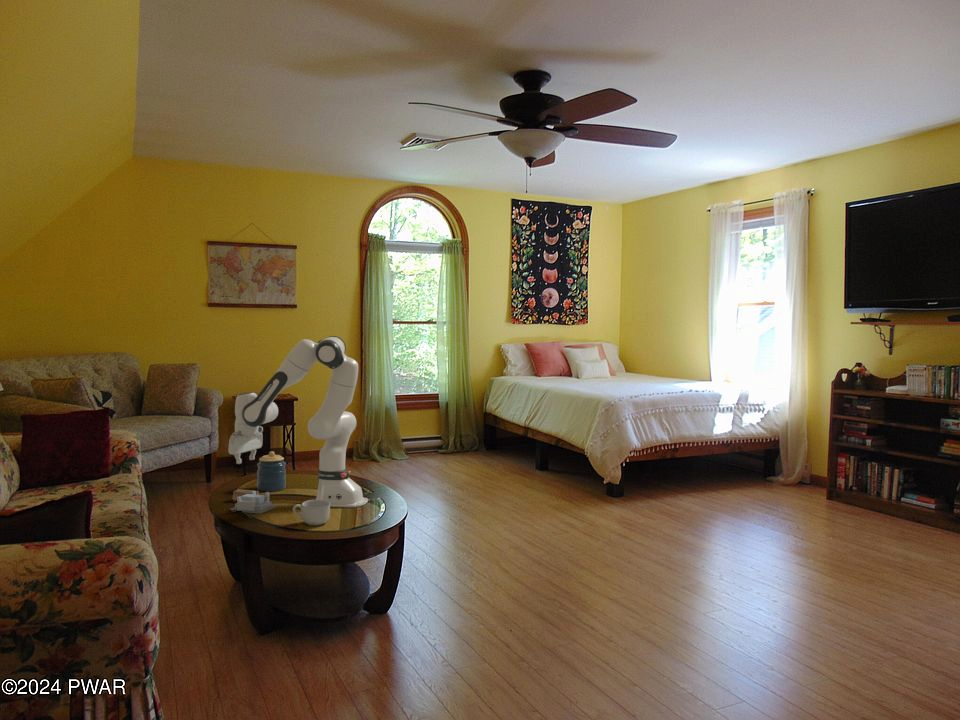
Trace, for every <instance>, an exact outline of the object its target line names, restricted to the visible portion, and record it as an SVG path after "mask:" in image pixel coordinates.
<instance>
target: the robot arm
mask: <svg viewBox="0 0 960 720" xmlns="http://www.w3.org/2000/svg"><path fill="white" fill-rule="evenodd" d="M346 346H347V345H346V342H345V341H344V340H343V339H342V338H341V337H339V336H336V335H330V336H327V337H325V338H323V339H321V340H319V341H318V342H314V341H313V340H311V339H307V338H303V339H301V340H299V341H298V342H297V343H296V344H295V345H294V346H293V348H292V349H291V350H290V352H288V354H287V355H286V356H285V358H284V360H283V361H282V363H281V364H280V366H279V367H278V369H277V370H276V371H275V373H274V374H273V375H272V377H270V379H269V381H267V383H266V384H265V385H264V386H263V388H262V389H261V391H260V392H259V393H255V392H254V391H250V392H243V393H239V394H238V395H237V396H236V398H235V404H234V415H235V421H234V432H232V434H231V435H230V437H229V440H228V441H229V442H228V449H227V451H228V455H233V457H234V458H235V460H236V465H241V464H243V462H242V461H243V459H242V458H241V455H242V454H243V453H247V452H250V455H249V456H248V458H249V461H254V460H255V459H256V458H255V456H256V454H257V449H261V448H262V447H263V440H264V439H263V437H264V436H263V432H264V428H263V426H261V425H264V424H267V423H270V422H273V421H274V420H276V419H277V418H278V417H279V411H280V410H279V407H278V405H277V403H276V402H274V400H275V399H277V397H278V395H280V394H281V392H282V391H284V390H286V388H288V387H290V386H294V385H295V384H298V383H300V382H301V381H302V380H303V379H304V377H305V378H306V376H307V375H308V373H309V371H310V370H311V368H312V367H313V366H314V365H315V364H316V362H319V363H320V364H322V365H324V366H326V367H327V368H329V369H331V376H330V379H329V384H328V388H327V391H326V395H325V397H324V399H323V402H322V404H321V406H320V407H319V409H318V410H317V411H316V413H315V415H313V416H312V417H311V418H310V419H309V421H308V422H307V432H308V434H309V435H310V436H311V437H312V438H314V439H316V440H325V441H324V444H323V446H322V447H321V449H320V451H319V456H318V457H319V459H318V460H319V462H318V463H319V464H318V465H319V469H318V473H317V479H318V488H317V494H316V496H315V497H316V498H315V500H326V501H329V502H330V503H331V504H330V508H331V507H332V508H358V507H361V506H364V505H365V504H367V503H368V501H369V499H368V498H367V497H364V495H363V490H362V487H361V486H360V485H359V484H358V483H356V482H355V481H354V480H353V479H351V478H350V474H351V470H349V471H348V470H347V468H346V459H347V458H346V457H347V456H346V454H347V449H348V444H349V440H350V437H351V436H352V434H353V432H354V431H355V430H356V428H357V419H356V416H355V415H354V413H352V412H351V411H346V409H347V408H348V407H350V405H351V403H353V398H354V395H355V391H356V388H357V382H358V376H359V363H358V361H356V360H355V358H352V357H349V356H347V355H346V354H345V353H346V351H347V348H346Z"/></svg>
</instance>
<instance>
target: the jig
mask: <svg viewBox="0 0 960 720" xmlns="http://www.w3.org/2000/svg"><path fill="white" fill-rule="evenodd" d="M256 491H257V490H253V491H252V494H253V495H256ZM276 506H277V505H276V504H273V503H272V501H270V491H265V495H264V504H262V505H255V498H251V501H241V497H237V502H236V503H234V506H233V507H231V508H229V510H237V511H242V512H241V513H246V514H247V513H248V514H260V515H262V514H263V513H266V512H268V511H270V510H273V509H275V508H277V507H276Z"/></svg>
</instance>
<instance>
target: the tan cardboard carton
mask: <svg viewBox="0 0 960 720" xmlns="http://www.w3.org/2000/svg"><path fill="white" fill-rule="evenodd" d="M252 491H254V490H253V489H252V490H251V489H250V490H249V489H239V488H238V489H237V490H233V491H232V501H233V500H237V497H241V496H243V495H246V494H252ZM255 491H256V495H260V490H255Z"/></svg>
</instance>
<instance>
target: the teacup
mask: <svg viewBox="0 0 960 720" xmlns="http://www.w3.org/2000/svg"><path fill="white" fill-rule="evenodd" d="M330 504H331V503H330V502H329V501H326V500H316V499H309V500H308V499H307V500H305V501H303V502H302V503H301V504H300V503H299V504H298V503H297V504H295V505H293V507H292V513H293V514H294V515H295V516H296V517H299V518H300V519H301V520H302V521H303V522H304V523H306V525H309V526H321V525H323V524H325V523H326V522H328V520H329V519H330V515H331V507H330ZM296 508H300V509H299V510H300V512H301V514H300V513H298V511H296V510H297V509H296Z"/></svg>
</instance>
